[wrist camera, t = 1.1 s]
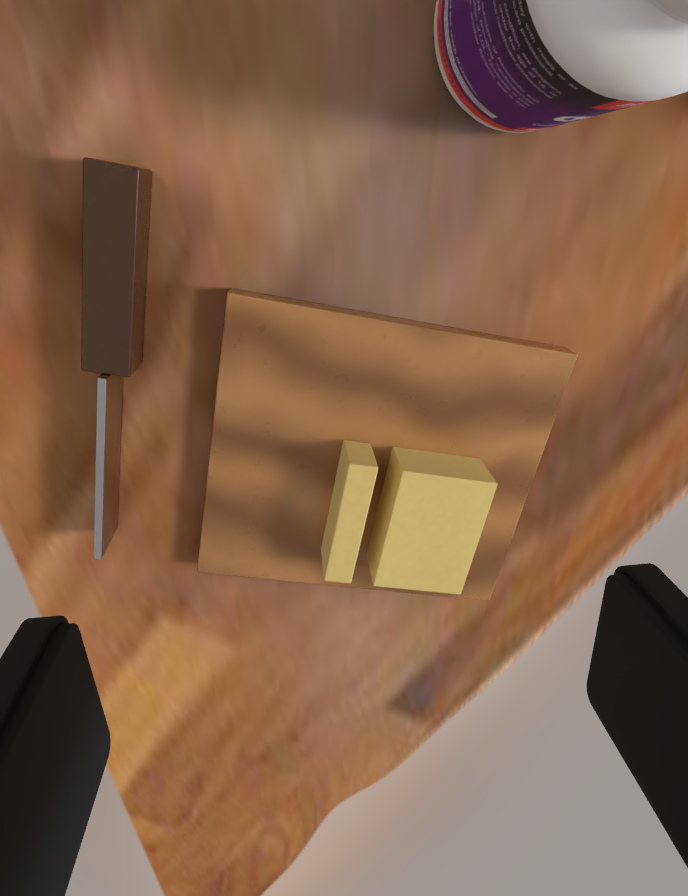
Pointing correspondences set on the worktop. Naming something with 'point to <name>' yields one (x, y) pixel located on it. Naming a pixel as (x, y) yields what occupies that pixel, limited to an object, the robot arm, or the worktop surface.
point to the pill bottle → (559, 57)
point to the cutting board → (361, 427)
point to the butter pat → (348, 510)
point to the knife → (112, 311)
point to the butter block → (429, 520)
